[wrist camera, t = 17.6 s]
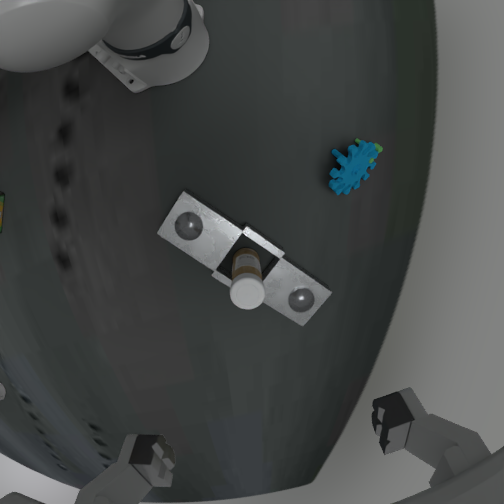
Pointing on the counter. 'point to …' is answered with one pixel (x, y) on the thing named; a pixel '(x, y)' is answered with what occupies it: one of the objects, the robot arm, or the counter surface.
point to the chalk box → (1, 208)
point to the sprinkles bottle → (246, 280)
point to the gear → (353, 166)
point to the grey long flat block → (220, 242)
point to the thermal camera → (2, 391)
